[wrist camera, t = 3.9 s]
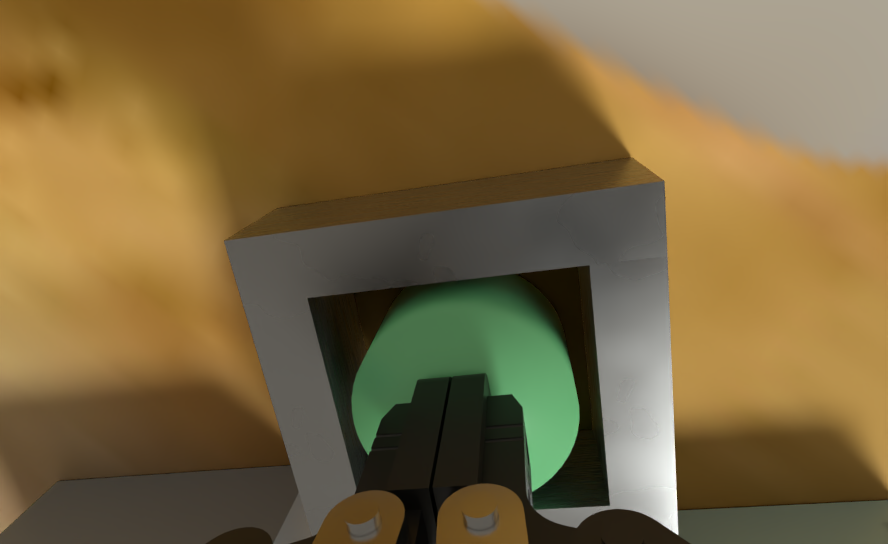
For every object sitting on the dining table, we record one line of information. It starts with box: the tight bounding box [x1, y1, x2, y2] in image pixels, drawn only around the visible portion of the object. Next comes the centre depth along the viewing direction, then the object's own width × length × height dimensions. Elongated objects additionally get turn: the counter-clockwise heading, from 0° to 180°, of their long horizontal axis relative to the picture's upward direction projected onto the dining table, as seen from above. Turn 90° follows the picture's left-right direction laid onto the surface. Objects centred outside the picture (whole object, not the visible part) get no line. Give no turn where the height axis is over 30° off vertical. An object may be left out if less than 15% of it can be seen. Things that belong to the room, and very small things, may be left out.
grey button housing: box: [224, 158, 678, 536], centre depth 14 cm, size 9×9×3 cm
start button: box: [352, 274, 579, 492], centre depth 14 cm, size 5×5×3 cm
